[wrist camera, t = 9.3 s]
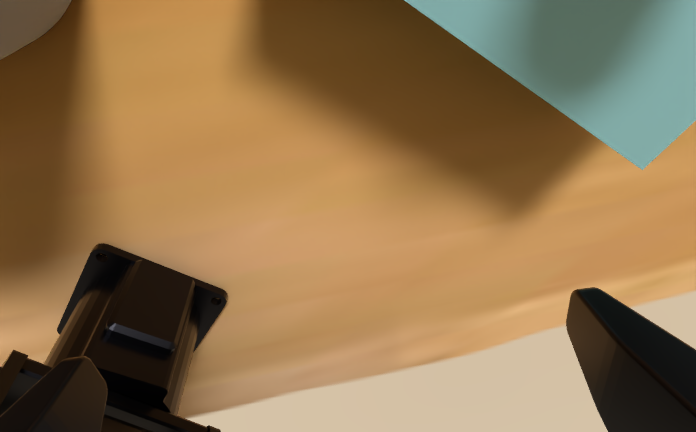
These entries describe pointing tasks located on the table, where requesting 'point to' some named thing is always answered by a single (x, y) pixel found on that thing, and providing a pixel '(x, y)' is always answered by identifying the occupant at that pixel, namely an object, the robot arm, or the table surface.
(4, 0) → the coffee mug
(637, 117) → the socket block
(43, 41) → the table surface
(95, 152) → the table surface
